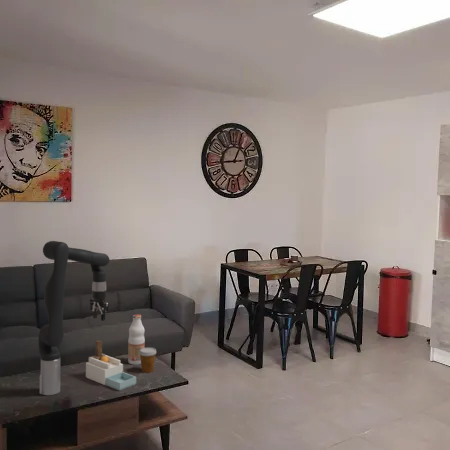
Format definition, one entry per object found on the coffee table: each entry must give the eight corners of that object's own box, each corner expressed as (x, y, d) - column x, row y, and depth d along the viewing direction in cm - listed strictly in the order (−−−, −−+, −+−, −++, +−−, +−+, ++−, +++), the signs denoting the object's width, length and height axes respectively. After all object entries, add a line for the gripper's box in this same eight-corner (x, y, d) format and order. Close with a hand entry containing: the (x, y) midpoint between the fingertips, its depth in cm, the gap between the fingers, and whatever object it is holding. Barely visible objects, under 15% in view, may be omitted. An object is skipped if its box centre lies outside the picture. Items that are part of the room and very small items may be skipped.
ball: (100, 364, 263) (100, 357, 263) (101, 362, 267) (101, 354, 267) (107, 364, 263) (107, 357, 263) (108, 362, 267) (108, 354, 267)
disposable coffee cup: (157, 368, 282) (158, 347, 281) (153, 374, 273) (154, 353, 272) (141, 367, 283) (141, 346, 282) (136, 373, 274) (137, 352, 273)
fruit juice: (125, 363, 288) (125, 316, 286) (133, 358, 297) (134, 312, 295) (139, 365, 285) (140, 318, 283) (147, 360, 294) (148, 314, 291)
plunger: (97, 363, 264) (97, 343, 264) (92, 361, 267) (92, 341, 266) (105, 360, 269) (105, 341, 268) (100, 359, 271) (101, 339, 270)
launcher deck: (104, 385, 256) (105, 365, 255) (85, 377, 266) (85, 358, 265) (122, 378, 266) (123, 359, 265) (103, 371, 275) (104, 352, 275)
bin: (119, 390, 250) (119, 383, 249) (105, 385, 256) (105, 377, 256) (136, 384, 258) (136, 377, 258) (122, 378, 265) (122, 371, 265)
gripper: (85, 288, 272) (85, 318, 273) (102, 292, 263) (101, 323, 265) (96, 286, 278) (96, 315, 279) (113, 290, 269) (112, 320, 271)
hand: (99, 319), depth 272 cm, fingers open, 6 cm apart
